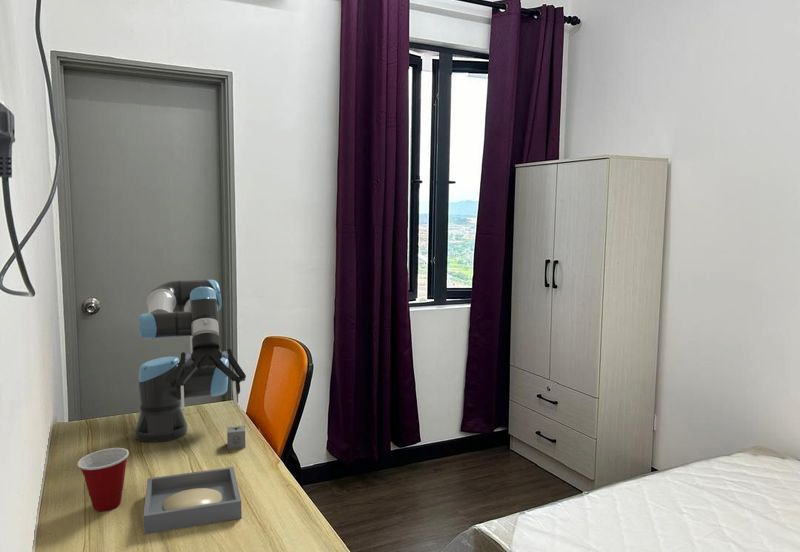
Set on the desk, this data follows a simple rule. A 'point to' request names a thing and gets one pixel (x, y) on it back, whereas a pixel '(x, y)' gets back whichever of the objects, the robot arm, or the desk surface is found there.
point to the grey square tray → (191, 500)
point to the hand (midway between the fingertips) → (209, 407)
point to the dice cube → (236, 437)
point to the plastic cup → (105, 477)
